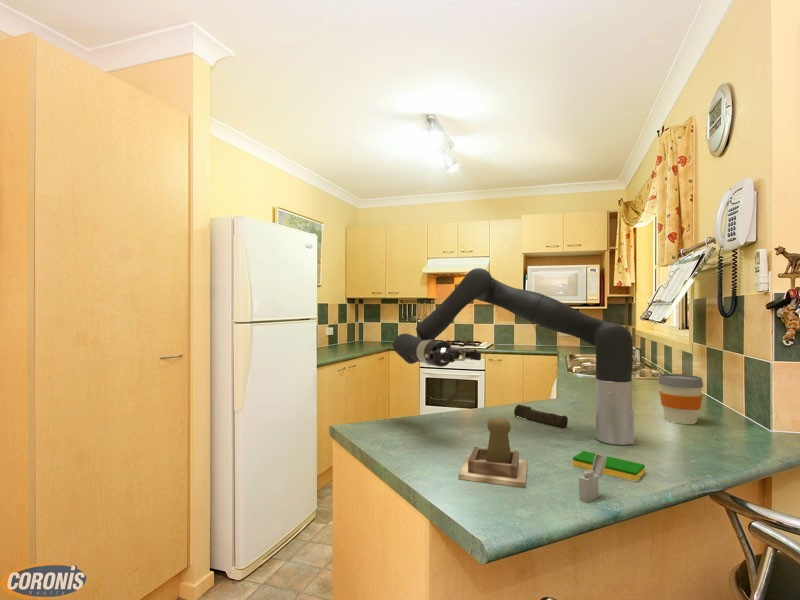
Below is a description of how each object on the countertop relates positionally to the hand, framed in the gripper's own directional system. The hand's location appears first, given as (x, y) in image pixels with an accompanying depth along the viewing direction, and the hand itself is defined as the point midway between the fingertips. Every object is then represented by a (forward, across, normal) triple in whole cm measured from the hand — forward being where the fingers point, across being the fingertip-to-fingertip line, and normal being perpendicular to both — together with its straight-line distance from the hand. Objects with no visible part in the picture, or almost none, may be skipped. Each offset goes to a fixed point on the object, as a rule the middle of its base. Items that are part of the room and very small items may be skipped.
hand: (466, 357), depth 113 cm
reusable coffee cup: (+7, +82, +26) cm, 87 cm away
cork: (+14, -2, +24) cm, 28 cm away
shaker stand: (+14, -3, +25) cm, 28 cm away
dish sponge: (+25, +22, +26) cm, 42 cm away
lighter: (+33, +6, +25) cm, 42 cm away
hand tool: (-14, +38, +25) cm, 48 cm away
